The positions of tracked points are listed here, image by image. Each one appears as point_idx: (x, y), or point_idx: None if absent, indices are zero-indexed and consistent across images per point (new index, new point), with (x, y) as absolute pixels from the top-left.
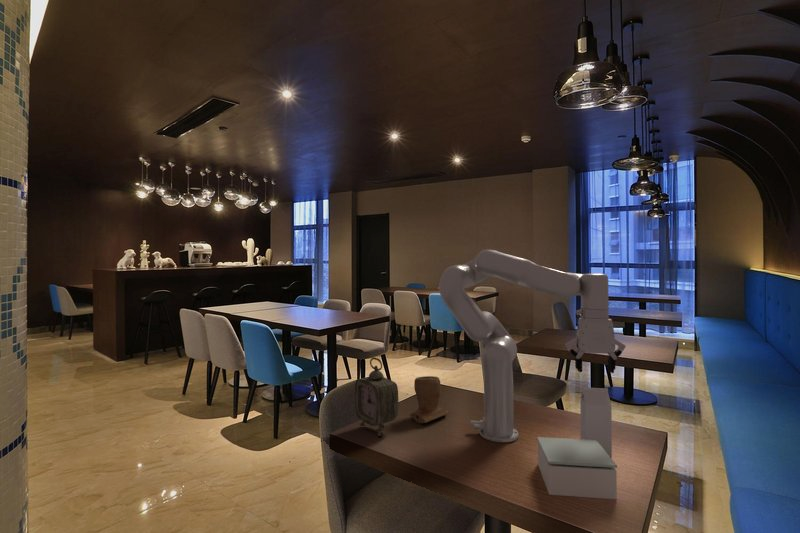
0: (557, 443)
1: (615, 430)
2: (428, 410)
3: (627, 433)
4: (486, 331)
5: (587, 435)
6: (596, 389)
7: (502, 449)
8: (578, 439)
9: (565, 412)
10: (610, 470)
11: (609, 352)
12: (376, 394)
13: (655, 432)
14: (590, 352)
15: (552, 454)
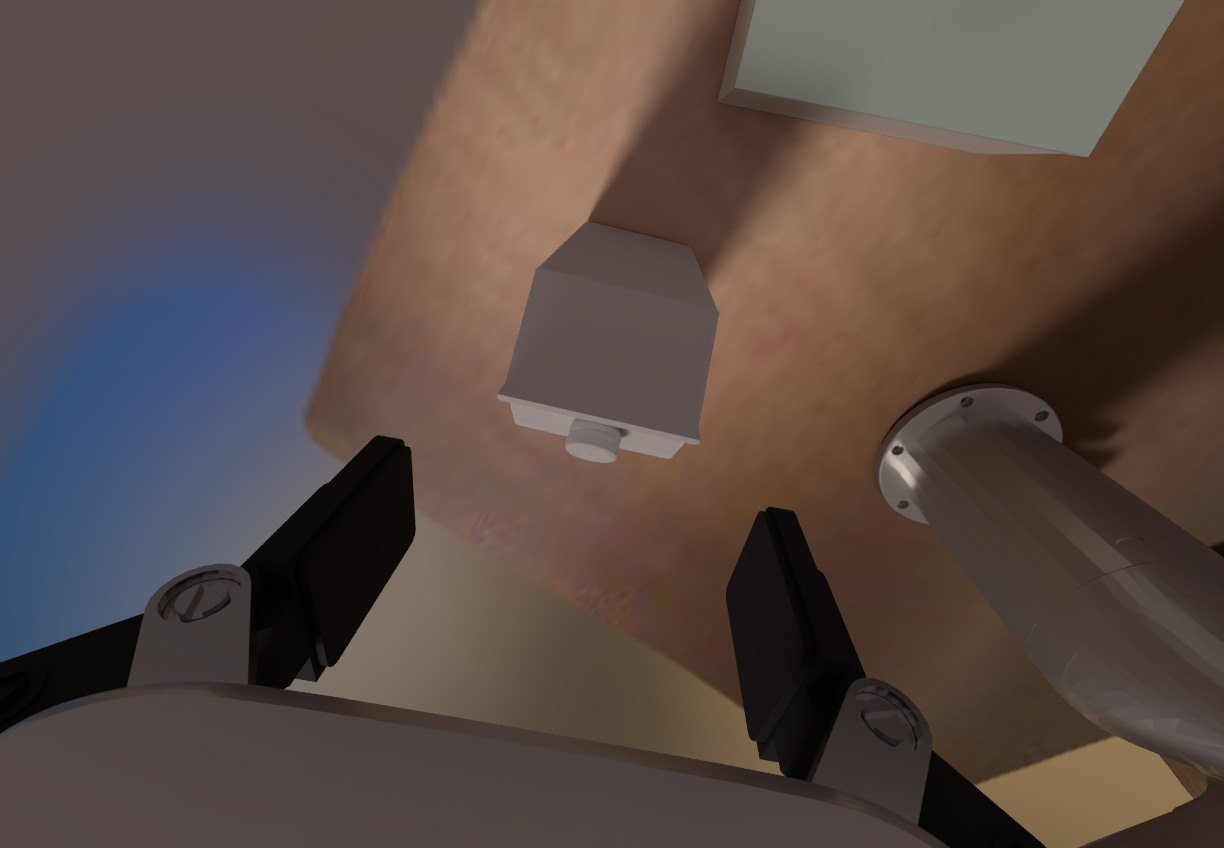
0: (1045, 17)
1: (462, 458)
2: None
3: (427, 431)
4: None
5: (691, 261)
6: (591, 411)
7: (1041, 323)
8: (843, 102)
9: (581, 603)
10: None
11: (206, 688)
12: None
13: (319, 432)
14: (715, 768)
15: None
